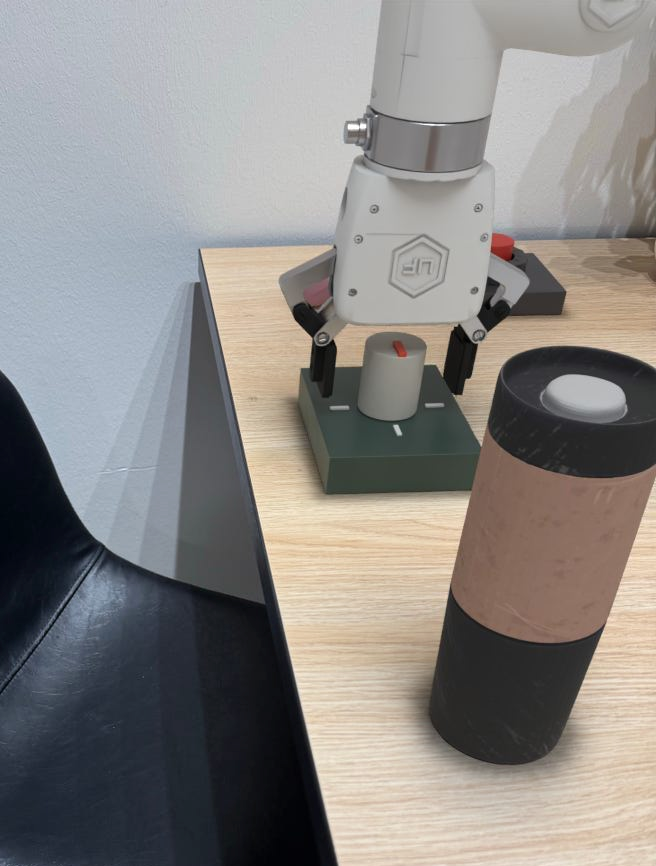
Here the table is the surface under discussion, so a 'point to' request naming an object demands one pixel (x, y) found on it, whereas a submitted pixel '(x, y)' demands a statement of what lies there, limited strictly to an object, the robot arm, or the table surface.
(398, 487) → the panel
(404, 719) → the table surface
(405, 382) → the dial
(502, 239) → the button
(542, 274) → the button box
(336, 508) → the table surface
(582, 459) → the travel mug
